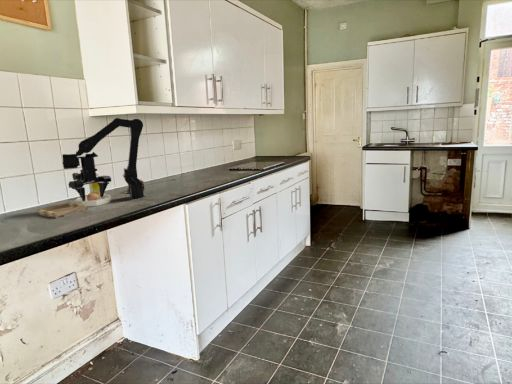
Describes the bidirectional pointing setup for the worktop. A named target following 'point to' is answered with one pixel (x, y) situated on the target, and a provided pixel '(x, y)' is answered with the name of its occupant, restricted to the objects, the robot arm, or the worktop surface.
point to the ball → (92, 196)
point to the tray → (61, 210)
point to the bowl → (95, 202)
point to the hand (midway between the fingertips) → (93, 199)
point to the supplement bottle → (95, 186)
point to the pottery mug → (130, 185)
